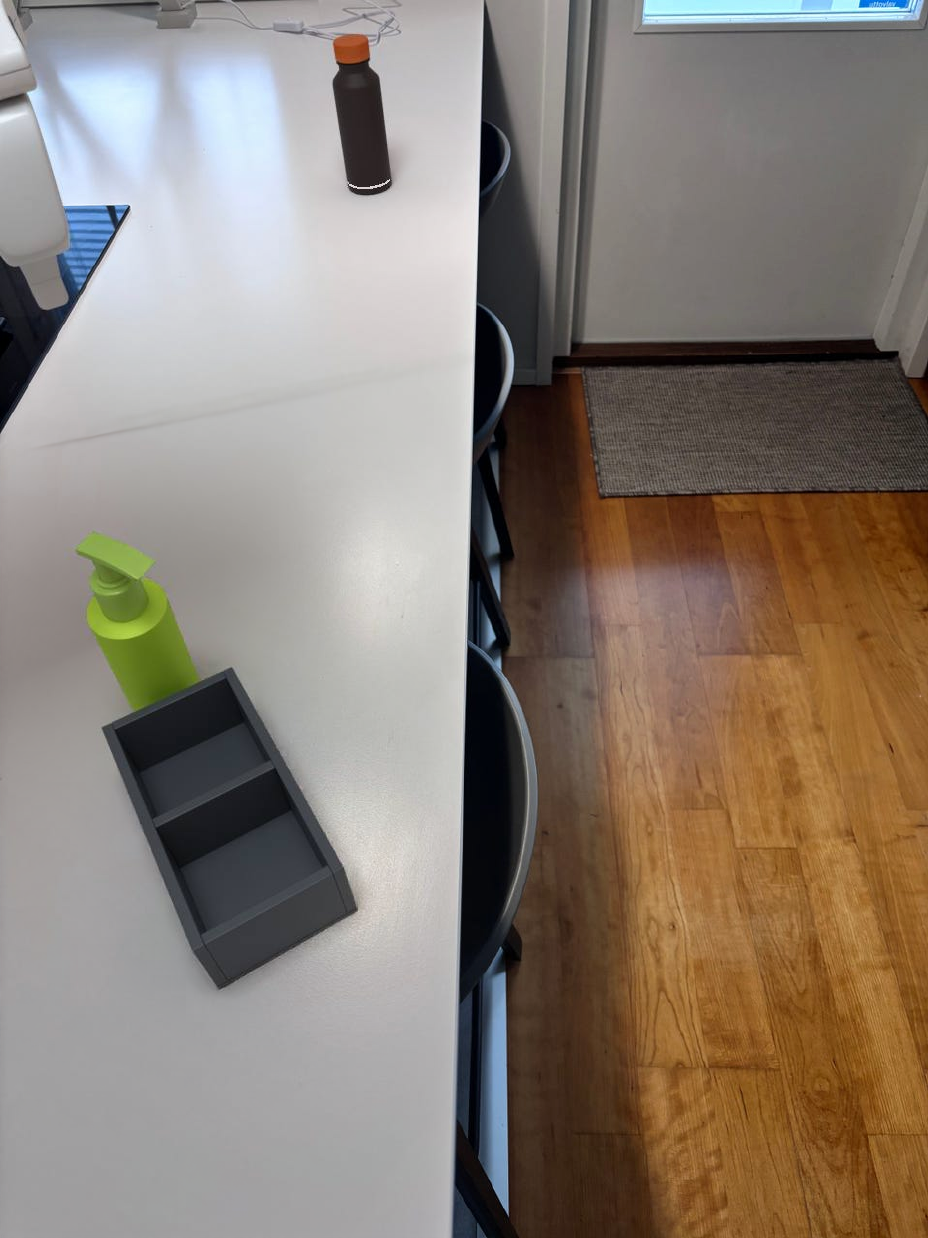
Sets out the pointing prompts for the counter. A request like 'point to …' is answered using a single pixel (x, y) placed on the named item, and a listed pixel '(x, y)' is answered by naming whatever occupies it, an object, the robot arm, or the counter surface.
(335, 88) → the bottle
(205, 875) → the storage box
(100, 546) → the soap dispenser
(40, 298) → the robot arm
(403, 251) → the counter surface
